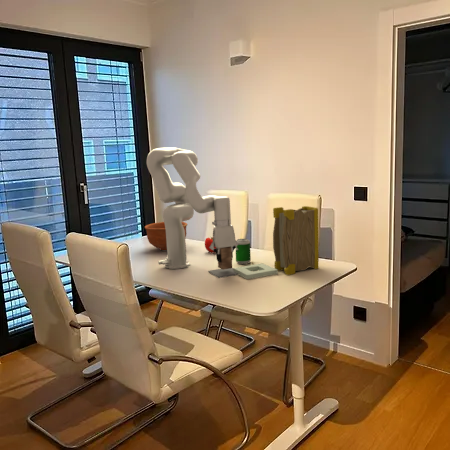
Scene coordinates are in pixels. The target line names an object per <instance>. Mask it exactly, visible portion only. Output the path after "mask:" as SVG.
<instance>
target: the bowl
mask: <svg viewBox="0 0 450 450" xmlns="http://www.w3.org/2000/svg"><path fill="white" fill-rule="evenodd" d="M181 223H182V225H183V227H184V230H185V240H186V238H187V226H188V223H187V222H186V221H183V222H181ZM144 229H145V230H146V237H147V238H146V239H147V241H148V243H149V244H150V245H152V246H153V247H154V248H157V249H159V250H160V249H161V250H167V241H166V229H165V223H164V221H160V222H153V223H150V224H145V226H144ZM161 250H160V251H161Z"/></svg>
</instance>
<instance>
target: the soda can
mask: <svg viewBox="0 0 450 450" xmlns="http://www.w3.org/2000/svg"><path fill="white" fill-rule="evenodd" d="M236 241H237V242H238V243H239V244H238V245H237V247H236V248H235V262H236V263H237V264H238V265H247V264H250V262H251V260H252V258H251V241H250V240H249V239H248V238H238V239H236Z"/></svg>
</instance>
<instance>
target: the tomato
mask: <svg viewBox="0 0 450 450" xmlns="http://www.w3.org/2000/svg"><path fill="white" fill-rule="evenodd" d="M212 242H213V236H212V237H211V236H210V237H207V238H205V240H204V247H205V249H206V251H207V252H209V253H210V254H216V253H215V252H214V251H213V250H211V249H210V248H209V247H210V245H211V244H212ZM214 248H215V249H216V247H214Z"/></svg>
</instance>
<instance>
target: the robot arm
mask: <svg viewBox="0 0 450 450" xmlns="http://www.w3.org/2000/svg"><path fill="white" fill-rule="evenodd" d="M198 162H199V158H198V156H197V153H195V152H194V151H192V150H189V149H183V148H178V147H173V146H172V147H158V148H154V149H151V151H150V152H149V153H148V154H147V157H146V167H147V169H148V172H149V173H150V175H151V178H152V181H153V184H154V186H155V189H156V192H157V195H158V198H159V200H160V201H161V202H162V203H165V204H169V205H167V206H166V207H165V208H164V209H163V211H162V219H163V222H164V223H165V229H166V241H167V251H166V253H167V254H166V255H167V256H166V257H165V258H164V259H163V260H158V265H164V267H165V268H166V269H168V268H169V270H180V269H186V268H189V267H190V266H191V263H190V261H187V247H186V246H187V245H186V239H185V230H184V227H183V225H182V223H181V222H186V221H189V220H191V219H192V218H193V217H194V215H195V214H194V213H195V212H196V213H198V214H205V213H210V212H213V214H214V216H213V217H214V220H213V221H211V225H214V226H213V229H212V230H213V231H212V237H213V242H212V244H211V245H210V247H209V248H210V249H211V250H213V251H214V252H215V253H214V254H215V255H216V256H215V257H216V261H217V263H218V262H221V254H220V250H221V248H226V247H231V251H232V259H233V256H234V254H233V252H234V251H235V250H236V247H237V245H238V244H239V243H238V242H237V239H236V235H235V234H236V233H235V229H234V226H233V224H232V219H231V214H232V213H231V199H230V197H229V196H223V195H221V196H218V195H212V194H211V195H205V196H202V195H201V193H200V192H199V190H198V188H197V182H199V181H200V179H201V174H200V172H199V171H198V169H197V168H196V166H197V165H198ZM168 165H172V166H173V167H174V169H175V170H176V172H177V173H178V175H179V177H180V178H181V180H182V181H183V183H184V184H185V185H184V184H182V183H181V182H173V180H172V179H171V177H170V176H171V175H170V174H169V172H168V170H166V168H165V167H164V166H168ZM170 203H173V204H170ZM214 247H216V249H215V248H214Z"/></svg>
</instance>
